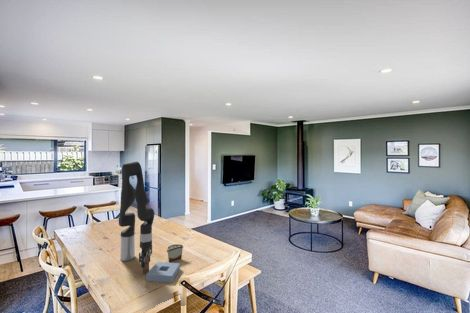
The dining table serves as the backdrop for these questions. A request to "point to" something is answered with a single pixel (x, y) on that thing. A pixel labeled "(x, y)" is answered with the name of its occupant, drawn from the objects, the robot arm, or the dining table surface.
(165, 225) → the dining table surface
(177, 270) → the socket block
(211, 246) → the dining table surface
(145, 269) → the walnut peg
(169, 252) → the food container
